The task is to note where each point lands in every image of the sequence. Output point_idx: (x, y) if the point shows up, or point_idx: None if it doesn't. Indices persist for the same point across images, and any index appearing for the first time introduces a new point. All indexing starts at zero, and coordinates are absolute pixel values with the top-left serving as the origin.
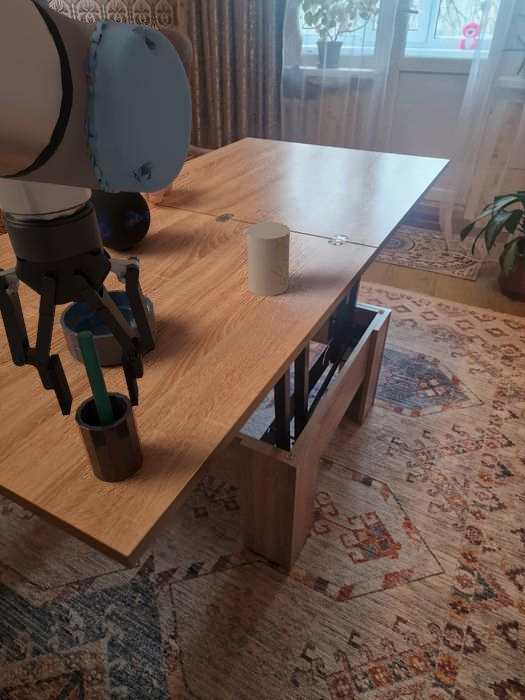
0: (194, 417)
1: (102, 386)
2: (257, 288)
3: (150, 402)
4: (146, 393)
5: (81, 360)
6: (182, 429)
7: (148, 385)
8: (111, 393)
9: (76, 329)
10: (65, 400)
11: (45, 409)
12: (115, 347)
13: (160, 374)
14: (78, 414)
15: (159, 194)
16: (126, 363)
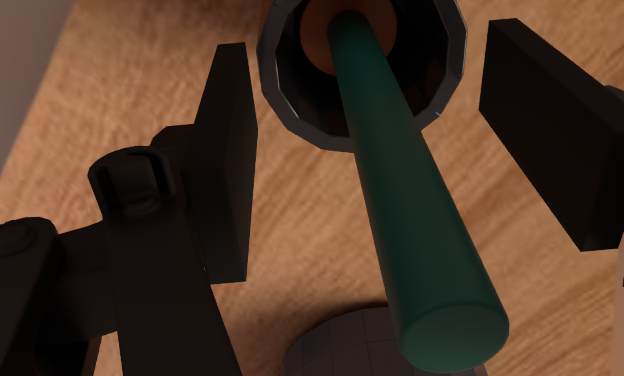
0: (146, 131)
1: (357, 105)
2: None
3: (272, 191)
4: (286, 220)
5: None
6: (172, 92)
7: (284, 244)
8: (343, 144)
9: None
10: (517, 48)
11: (529, 190)
12: (367, 348)
13: (258, 274)
14: (454, 49)
15: None
16: (199, 157)
